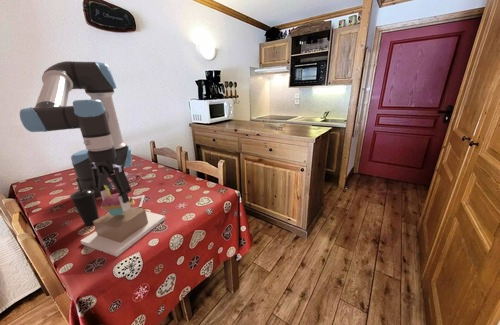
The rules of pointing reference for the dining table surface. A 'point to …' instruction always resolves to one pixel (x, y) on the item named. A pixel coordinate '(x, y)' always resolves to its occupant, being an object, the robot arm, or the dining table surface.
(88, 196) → the drinking cup
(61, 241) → the dining table surface
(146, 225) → the plinth
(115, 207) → the cupcake
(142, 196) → the white square frame
